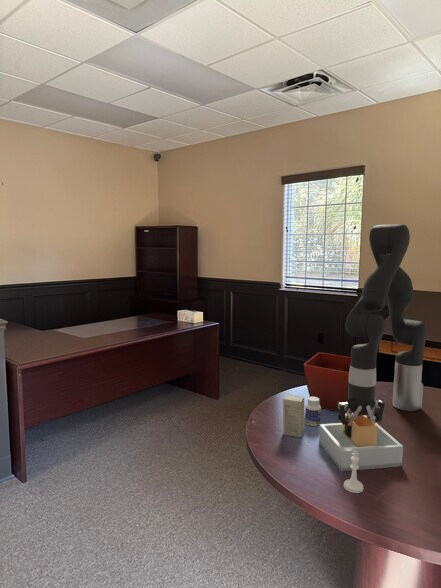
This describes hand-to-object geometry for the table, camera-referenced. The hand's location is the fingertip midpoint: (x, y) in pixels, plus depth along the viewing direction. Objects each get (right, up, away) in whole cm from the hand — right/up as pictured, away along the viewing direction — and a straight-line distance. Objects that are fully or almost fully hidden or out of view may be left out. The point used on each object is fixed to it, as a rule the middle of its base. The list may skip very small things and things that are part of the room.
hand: (359, 435), depth 121 cm
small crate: (0, -1, 0) cm, 1 cm away
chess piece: (-6, -8, -15) cm, 18 cm away
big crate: (0, -6, +1) cm, 6 cm away
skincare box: (-17, -4, +13) cm, 22 cm away
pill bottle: (-9, -3, +21) cm, 23 cm away
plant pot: (+3, -1, +36) cm, 36 cm away
